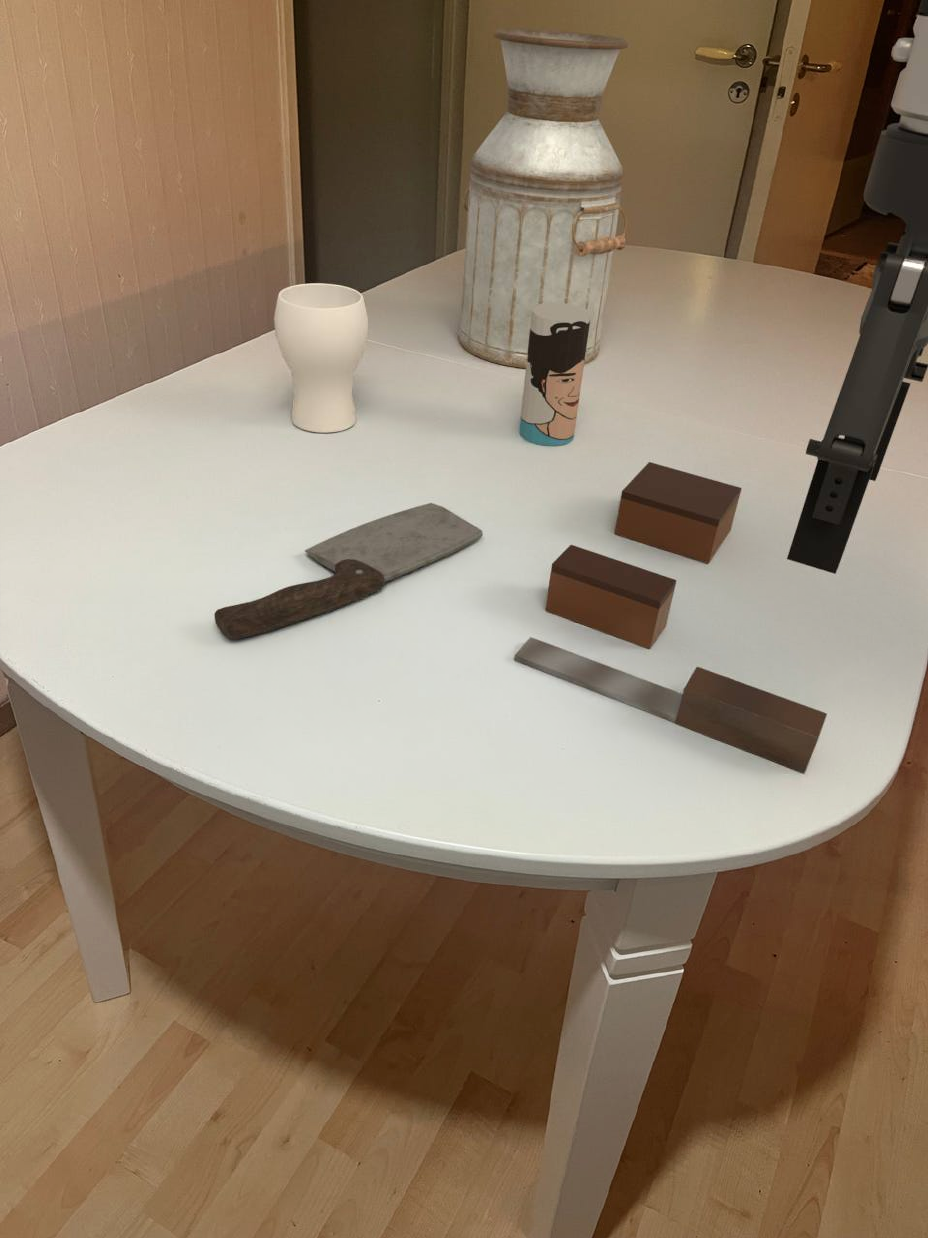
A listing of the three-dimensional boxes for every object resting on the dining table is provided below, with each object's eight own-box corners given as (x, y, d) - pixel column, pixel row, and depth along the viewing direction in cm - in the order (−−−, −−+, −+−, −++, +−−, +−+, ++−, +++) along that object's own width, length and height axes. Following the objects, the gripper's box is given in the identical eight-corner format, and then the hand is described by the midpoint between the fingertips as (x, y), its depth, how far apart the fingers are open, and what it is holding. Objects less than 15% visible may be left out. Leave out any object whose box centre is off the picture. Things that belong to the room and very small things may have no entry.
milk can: (423, 331, 141) (434, 24, 118) (524, 310, 153) (553, 26, 130) (533, 384, 127) (571, 45, 103) (636, 356, 138) (690, 45, 115)
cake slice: (665, 626, 82) (677, 579, 79) (649, 649, 79) (660, 601, 76) (563, 590, 86) (570, 544, 83) (545, 610, 83) (551, 563, 80)
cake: (730, 530, 97) (742, 487, 94) (708, 564, 91) (719, 519, 88) (640, 503, 100) (649, 461, 98) (613, 534, 95) (621, 490, 92)
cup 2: (541, 450, 110) (556, 324, 101) (508, 428, 114) (520, 306, 105) (585, 439, 113) (603, 316, 104) (551, 418, 117) (566, 299, 109)
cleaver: (248, 659, 74) (247, 638, 73) (180, 606, 79) (177, 586, 78) (492, 539, 93) (494, 521, 91) (423, 503, 98) (424, 485, 97)
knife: (813, 748, 70) (827, 713, 68) (804, 774, 68) (818, 738, 66) (530, 641, 79) (534, 607, 77) (513, 661, 77) (517, 626, 74)
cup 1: (261, 420, 112) (252, 294, 103) (321, 395, 119) (318, 276, 110) (326, 446, 107) (323, 317, 98) (385, 419, 114) (387, 296, 105)
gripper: (918, 98, 55) (816, 430, 67) (838, 146, 37) (718, 589, 49) (1057, 114, 52) (924, 457, 65) (1045, 175, 34) (863, 636, 46)
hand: (835, 515), depth 57 cm, fingers open, 13 cm apart
